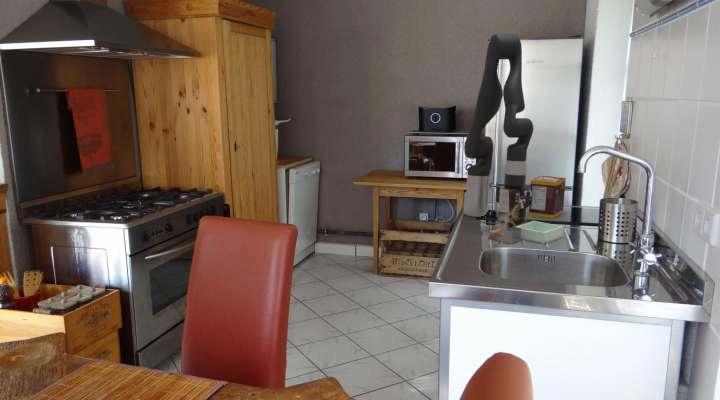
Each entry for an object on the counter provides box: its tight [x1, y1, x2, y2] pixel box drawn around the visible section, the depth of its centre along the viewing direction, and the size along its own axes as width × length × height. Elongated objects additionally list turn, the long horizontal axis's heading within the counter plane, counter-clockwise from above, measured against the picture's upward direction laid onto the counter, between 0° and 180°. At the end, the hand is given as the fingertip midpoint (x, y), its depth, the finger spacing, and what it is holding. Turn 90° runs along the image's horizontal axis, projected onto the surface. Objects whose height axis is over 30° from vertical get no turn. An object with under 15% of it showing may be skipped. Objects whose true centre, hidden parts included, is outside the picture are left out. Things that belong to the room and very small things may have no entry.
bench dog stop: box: [502, 227, 521, 245], centre depth 185 cm, size 3×6×4 cm, turn 134°
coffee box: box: [496, 187, 530, 230], centre depth 199 cm, size 9×6×16 cm
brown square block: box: [488, 228, 504, 243], centre depth 189 cm, size 6×6×3 cm
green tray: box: [516, 220, 564, 245], centre depth 191 cm, size 12×14×4 cm
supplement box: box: [528, 175, 567, 220], centre depth 227 cm, size 10×15×16 cm
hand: (512, 215), depth 200 cm, fingers closed on coffee box, 7 cm apart
